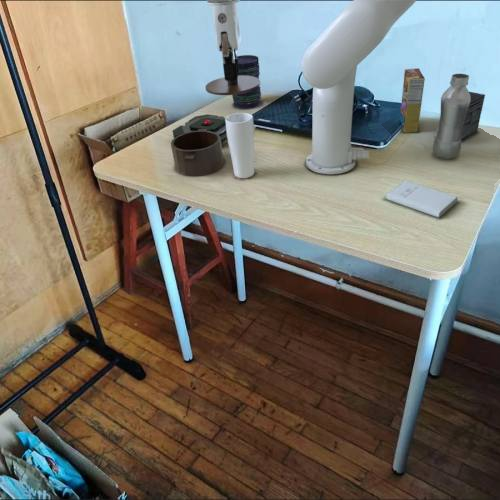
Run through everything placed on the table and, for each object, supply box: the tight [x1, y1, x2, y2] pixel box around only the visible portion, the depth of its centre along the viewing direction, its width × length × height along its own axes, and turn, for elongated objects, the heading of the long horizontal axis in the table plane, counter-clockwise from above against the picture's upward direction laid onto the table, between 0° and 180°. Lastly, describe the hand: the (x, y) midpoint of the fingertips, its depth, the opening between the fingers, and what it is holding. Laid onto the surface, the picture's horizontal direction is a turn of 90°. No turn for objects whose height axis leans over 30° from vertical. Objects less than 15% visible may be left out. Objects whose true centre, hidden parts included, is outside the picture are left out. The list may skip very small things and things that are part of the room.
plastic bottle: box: [432, 73, 471, 160], centre depth 110 cm, size 6×7×20 cm
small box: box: [437, 91, 486, 142], centre depth 123 cm, size 11×6×10 cm, turn 129°
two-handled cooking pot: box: [170, 129, 224, 177], centre depth 121 cm, size 13×18×7 cm
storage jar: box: [231, 54, 262, 110], centre depth 154 cm, size 10×10×15 cm
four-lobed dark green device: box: [171, 113, 228, 144], centre depth 138 cm, size 18×18×5 cm
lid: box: [205, 75, 261, 96], centre depth 114 cm, size 14×14×6 cm
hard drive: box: [385, 180, 459, 218], centre depth 100 cm, size 2×8×12 cm
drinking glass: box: [225, 112, 256, 179], centre depth 112 cm, size 7×7×15 cm
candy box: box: [400, 68, 426, 134], centre depth 128 cm, size 9×4×15 cm, turn 172°
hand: (232, 77), depth 114 cm, fingers closed on lid, 2 cm apart
